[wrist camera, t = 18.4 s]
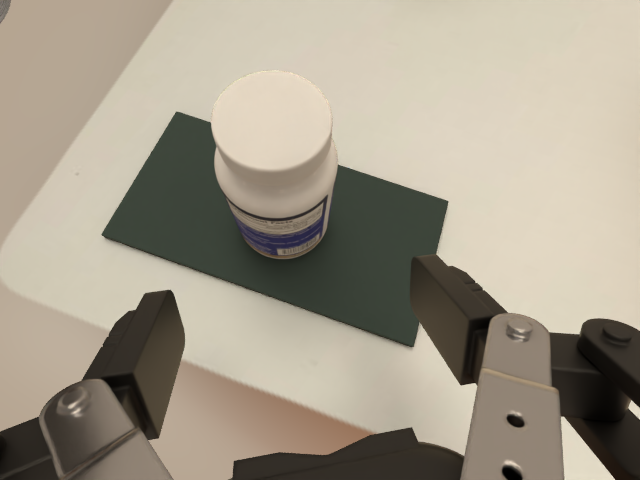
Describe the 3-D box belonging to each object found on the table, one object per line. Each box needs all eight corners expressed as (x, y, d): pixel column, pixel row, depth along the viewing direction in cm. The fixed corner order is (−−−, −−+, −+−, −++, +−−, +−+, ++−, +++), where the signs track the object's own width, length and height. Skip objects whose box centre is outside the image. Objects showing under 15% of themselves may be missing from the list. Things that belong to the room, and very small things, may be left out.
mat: (104, 236, 22) (100, 234, 22) (178, 114, 26) (176, 111, 25) (411, 347, 21) (413, 346, 21) (446, 203, 24) (448, 201, 24)
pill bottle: (262, 167, 24) (239, 40, 15) (340, 198, 24) (368, 86, 14) (222, 241, 22) (167, 147, 13) (307, 276, 22) (313, 205, 12)
